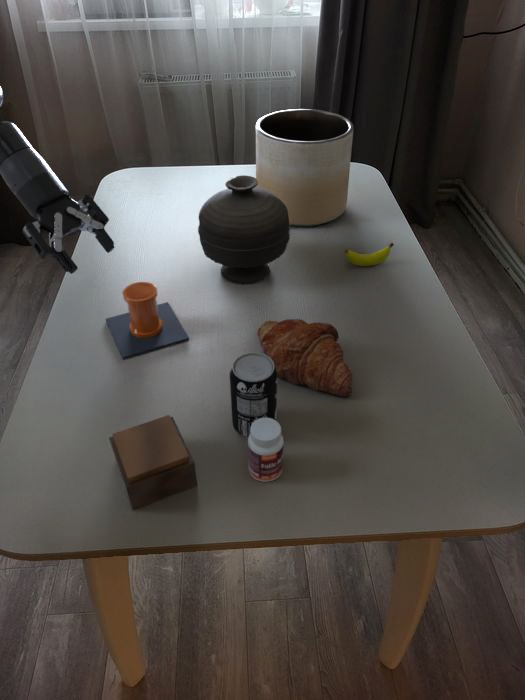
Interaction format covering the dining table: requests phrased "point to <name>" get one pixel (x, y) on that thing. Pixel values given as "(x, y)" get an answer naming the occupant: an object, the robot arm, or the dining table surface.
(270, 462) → the pill bottle
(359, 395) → the dining table surface
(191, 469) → the wooden box
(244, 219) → the pot
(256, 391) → the beverage can
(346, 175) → the planter
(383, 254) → the fruit
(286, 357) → the pastry
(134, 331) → the spool
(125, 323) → the mat
